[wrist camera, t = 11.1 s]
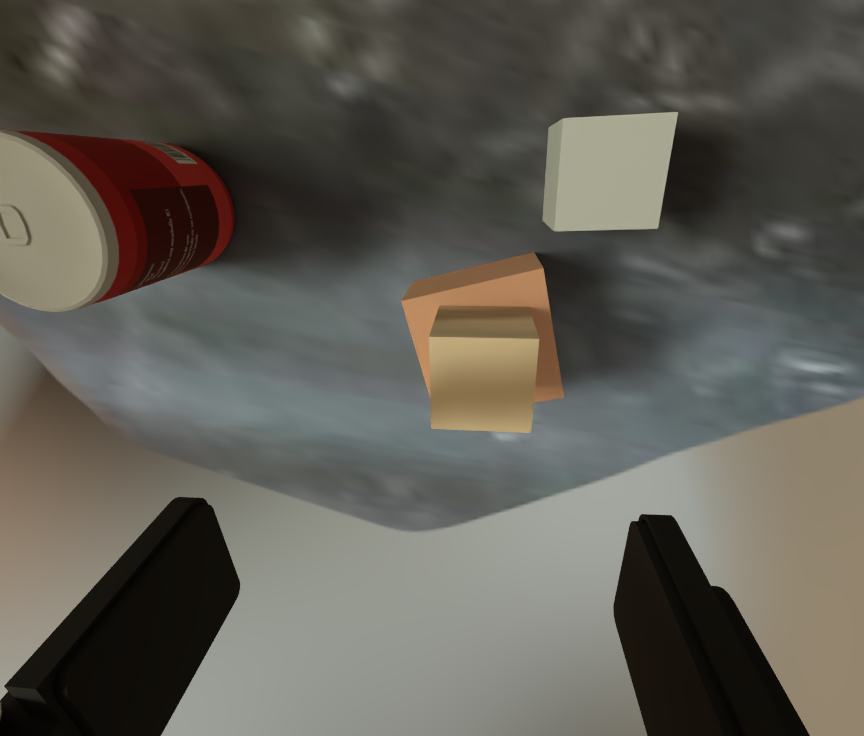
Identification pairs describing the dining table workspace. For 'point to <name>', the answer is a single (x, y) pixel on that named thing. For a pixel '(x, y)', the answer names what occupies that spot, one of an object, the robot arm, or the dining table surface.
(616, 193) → the pale green-grey cube
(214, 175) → the canned food
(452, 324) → the maple cube
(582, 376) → the dining table surface
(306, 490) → the dining table surface
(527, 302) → the terracotta block
